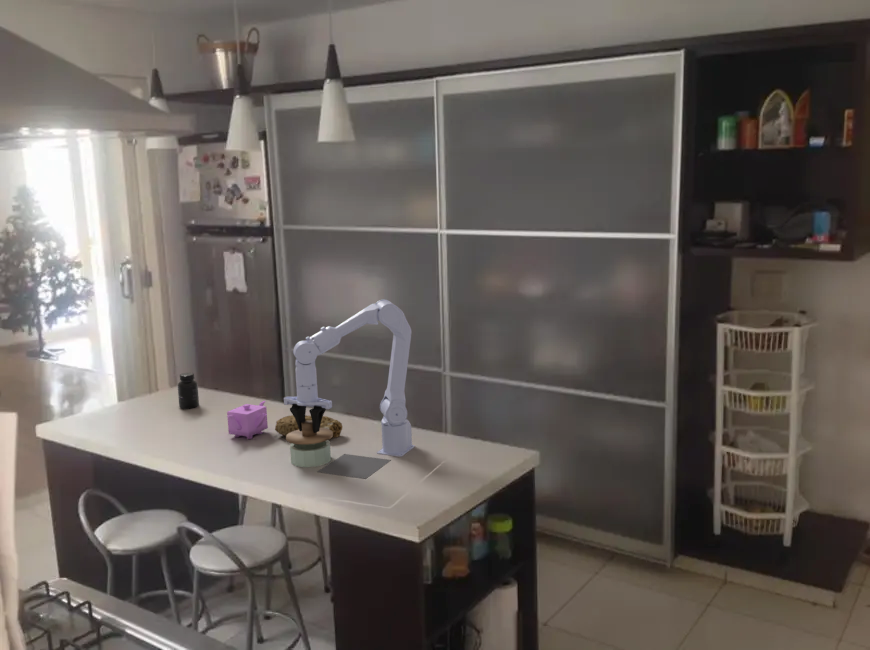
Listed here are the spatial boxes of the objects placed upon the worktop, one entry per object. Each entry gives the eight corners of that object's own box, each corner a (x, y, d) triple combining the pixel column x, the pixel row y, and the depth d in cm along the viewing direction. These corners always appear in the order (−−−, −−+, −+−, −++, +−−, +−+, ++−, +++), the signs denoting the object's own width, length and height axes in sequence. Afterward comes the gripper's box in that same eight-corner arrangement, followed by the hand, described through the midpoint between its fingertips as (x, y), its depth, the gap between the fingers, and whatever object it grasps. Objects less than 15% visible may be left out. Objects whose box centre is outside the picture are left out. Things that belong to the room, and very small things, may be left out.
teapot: (248, 446, 242) (246, 415, 241) (214, 441, 248) (212, 410, 246) (285, 429, 258) (283, 399, 256) (252, 424, 264) (250, 395, 262)
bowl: (305, 452, 235) (304, 436, 235) (337, 457, 231) (337, 440, 230) (283, 465, 226) (282, 448, 225) (317, 470, 221) (316, 452, 220)
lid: (302, 428, 235) (301, 414, 235) (341, 432, 230) (340, 417, 229) (276, 442, 224) (275, 427, 223) (317, 446, 218) (315, 431, 218)
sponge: (346, 438, 251) (299, 416, 261) (345, 417, 248) (298, 396, 258) (317, 458, 242) (269, 434, 252) (316, 436, 238) (268, 413, 248)
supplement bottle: (175, 409, 283) (172, 376, 281) (184, 404, 290) (182, 371, 288) (194, 409, 282) (191, 376, 280) (202, 404, 289) (200, 371, 287)
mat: (344, 455, 233) (344, 453, 232) (391, 461, 227) (391, 459, 226) (316, 473, 219) (316, 471, 219) (365, 480, 213) (365, 478, 213)
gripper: (276, 385, 223) (279, 432, 226) (321, 389, 218) (324, 438, 220) (290, 379, 230) (293, 425, 232) (335, 383, 224) (337, 430, 227)
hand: (309, 431), depth 227 cm, fingers closed on lid, 4 cm apart
